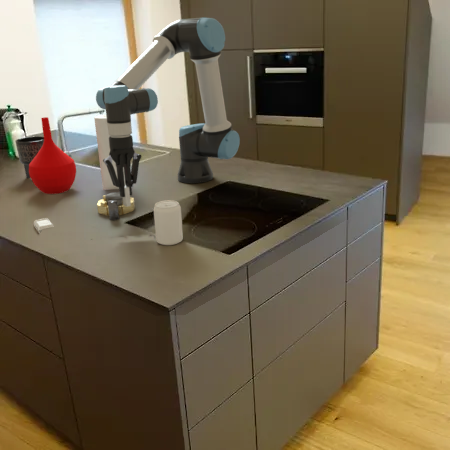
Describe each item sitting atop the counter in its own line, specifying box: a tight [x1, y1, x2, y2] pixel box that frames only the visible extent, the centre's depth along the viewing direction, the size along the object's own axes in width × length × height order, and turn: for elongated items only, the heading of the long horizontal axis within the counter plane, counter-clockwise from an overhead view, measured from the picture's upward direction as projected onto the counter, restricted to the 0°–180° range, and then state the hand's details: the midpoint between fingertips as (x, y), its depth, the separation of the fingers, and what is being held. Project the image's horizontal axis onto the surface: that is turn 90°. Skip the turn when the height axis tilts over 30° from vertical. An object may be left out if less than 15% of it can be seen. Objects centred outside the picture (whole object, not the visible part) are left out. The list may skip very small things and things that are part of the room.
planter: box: [15, 135, 44, 179], centre depth 230 cm, size 13×13×18 cm
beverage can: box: [153, 199, 184, 246], centre depth 156 cm, size 8×8×12 cm
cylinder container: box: [93, 114, 126, 191], centre depth 209 cm, size 9×9×30 cm
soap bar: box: [33, 217, 55, 235], centre depth 172 cm, size 5×9×3 cm, turn 30°
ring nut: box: [96, 194, 136, 221], centre depth 181 cm, size 17×12×6 cm
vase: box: [29, 117, 77, 195], centre depth 208 cm, size 18×18×30 cm
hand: (127, 205), depth 175 cm, fingers closed
